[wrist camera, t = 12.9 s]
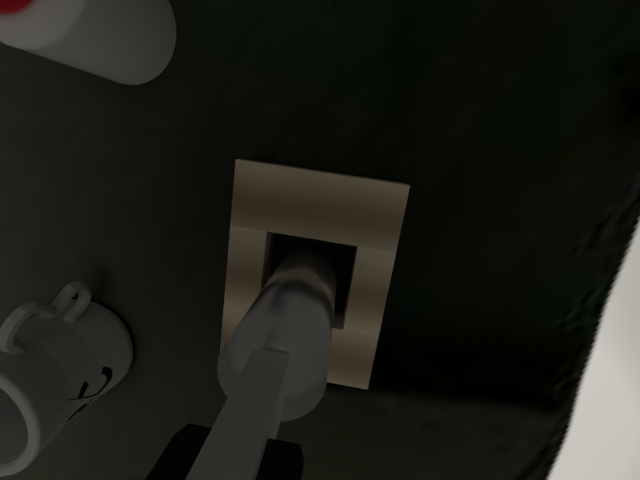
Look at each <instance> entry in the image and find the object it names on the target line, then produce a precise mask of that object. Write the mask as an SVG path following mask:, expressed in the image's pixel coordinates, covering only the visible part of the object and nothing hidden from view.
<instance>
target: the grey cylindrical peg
mask: <svg viewBox="0 0 640 480" xmlns="http://www.w3.org/2000/svg"><path fill="white" fill-rule="evenodd" d="M337 275H338V265H337V261H336V259H335V256H334V255H333V253H332V252H331V251H330V250H329V249H328V248H326V247H325V246H323V245H321V244H318V243H315V242H304V243H300V244H298V245H296V246H294V247H293V248H291V249H290V250H289V251H288V253H287V254H286V256H285V257H284V259H283V260H282V262H281V263H280V264H279V266H278V267H277V269H276V270H275V272H274V273H273V275H272V276H271V278H270V279H269V281H268V282H267V283H266V285H265V286H264V288H263V289H262V291H261V292H260V294H259V295H258V297H257V298H256V300H255V301H254V302H253V304H252V305H251V307H250V308H249V310H248V311H247V313H246V314H245V316H244V317H243V319H242V320H241V321H240V323H239V324H238V326H237V327H236V329H235V330H234V332H233V333H232V335H231V336H230V338H229V339H228V340H227V342H226V343H225V345H224V346H223V348H222V350H221V352H220V355H219V358H218V365H217V372H218V378H219V382H220V385H221V387H222V389H223V391H224V393H225V395H226V396H227V397H229V395H230V393H231V391H232V389H233V387H234V385H235V383H236V382H237V380H238V378H239V376H240V374H241V372H242V370H243V368H244V366H245V364H246V362H247V360H248V359H249V357H250V355H251V353H252V351H253V349H254V348H255V349H260V350H265V351H271V352H276V353H282V354H287V355H291V357H290V364H289V371H288V378H287V385H286V392H285V400H284V407H283V413H282V417H281V421H280V422H284V421H290V420H294V419H297V418H299V417H301V416H303V415H305V414H307V413H308V412H310V411H311V410H312V409H313V408H314V407H315V406H316V405H317V404H318V403H319V401H320V400H321V398H322V396H323V394H324V391H325V388H326V382H327V372H328V363H329V353H330V343H331V334H332V324H333V314H334V304H335V295H336V285H337Z"/></svg>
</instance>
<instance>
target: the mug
mask: <svg viewBox="0 0 640 480" xmlns="http://www.w3.org/2000/svg"><path fill="white" fill-rule="evenodd" d="M76 292H78V296H79V297H78V299H71V298H72V297H73V296H74V295H75V294H76ZM91 298H92V291H91V288H90V287H89V286H88V285H87V283H86V282H80V281H73V282H71V283H69V284H67V285H66V286H65V287H64V288H63V289H62V290H61V292H60V293H59V294H58V296H57V297H56V298H55V300H54V301H53V302H52V303H51V304H48V303H46V302H43V301H29V302H26V303H25V304H23V305H21V306H20V307H18V308H17V309H16V310H15V311H14V312H13V313H12V314H11V315H10V316H9V317H8V318H7V319H6V320H5V322H4V323H3V325H2V326H1V328H0V477H1V476H7V475H12V474H15V473H17V472H19V471H21V470H23V469H25V468H26V467H27V466H28V465H29V464H30V463H31V462H32V461H33V460H34V459H35V458H36V457H37V456H38V455H39V454H40V452H41V451H42V450H43V449H44V448H45V447H46V446H47V445H48V444H49V442H50V441H51V440H52V439H53V438H54V437H55V436H56V435H57V433H58V432H59V431H60V430H61V429H62V428H63V427H64V426H65V425H66V424H68V423H69V422H70V421H71V420H72V419H73V418H74V417H75V416H77V415H78V414H79V413H80V412H81V411H82V410H83V409H85V408H86V407H87V406H88V405H89V404H90V403H92V402H93V401H94V400H96V399H97V398H99V397H100V396H101V395H103V394H104V393H106V392H107V391H108V390H110V389H111V388H112V387H113V386H115V385H116V384H117V383H118V382H119V381H120V380H121V379H122V378H123V377H124V376H125V375H126V373H127V372H128V370H129V368H130V365H131V363H132V357H133V348H132V342H131V338H130V335H129V333H128V331H127V328H126V327H125V325H124V324H123V323H122V321H121V320H120V319H119V318H118V317H117V316H116V315H115V314H114V313H113V312H111V311H110V310H109V309H107V308H105V307H103V306H102V305H100V304H98V303H95V302H92V301H91ZM33 314H36V316H34V317H33V318H31V319H30V320H28V321H27V322H25V321H26V320H27V319H28V318H29V317H30V316H31V315H33ZM24 322H25V323H24ZM23 323H24V324H23Z"/></svg>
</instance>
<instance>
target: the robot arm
mask: <svg viewBox="0 0 640 480" xmlns="http://www.w3.org/2000/svg"><path fill="white" fill-rule="evenodd" d="M290 357H291V355H287V354H282V353H276V352H271V351H265V350H260V349H255V348H254V349H253V351H252V353H251V355H250V357H249V359H248V360H247V362H246V364H245V366H244V368H243V370H242V372H241V374H240V376H239V378H238V380H237V382H236V383H235V385H234V387H233V389H232V391H231V393H230V395H229V397H228V399H227V401H226V403H225V405H224V406H223V408H222V410H221V412H220V414H219V416H218V418H217V420H216V422H215V424H214V426H213V428H209V427H204V426H199V425H194V424H187V425H186V426H185V427H184V428H182V429H181V430H180V431H179V432H178V433H176V434H175V435H174V436H173V437H172V439H171V441H170V442H169V444H168V445H167V447H166V448H165V450H164V452H163V454H161V456H160V458H159V459H158V461H157V462H156V464H155V466H154V468H152V470H151V471H150V473H149V475H148V476H147V478H146V479H145V480H301V476H302V470H303V464H304V459H303V455H302V451H301V447H300V444H296V443H291V442H286V441H281V440H276V435H277V432H278V428H279V424H280V421H281V417H282V413H283V407H284V400H285V392H286V385H287V378H288V371H289V364H290Z"/></svg>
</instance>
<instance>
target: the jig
mask: <svg viewBox="0 0 640 480" xmlns="http://www.w3.org/2000/svg"><path fill="white" fill-rule="evenodd" d="M409 188H410V185H407V184H405V183H400V182H393V181H387V180H380V179H374V178H367V177H361V176H354V175H347V174H341V173H334V172H328V171H321V170H314V169H308V168H301V167H295V166H288V165H281V164H275V163H268V162H262V161H255V160H246V159H236V162H235V174H234V187H233V199H232V212H231V224H230V236H229V249H228V261H227V273H226V286H225V298H224V310H223V323H222V335H221V348H220V352H221V350H222V348H223V346H224V345H225V343H226V342H227V340H228V339H229V338H230V336H231V335H232V333H233V332H234V330H235V329H236V327H237V326H238V324H239V323H240V321H241V320H242V319H243V317H244V316H245V314H246V313H247V311H248V310H249V308H250V307H251V305H252V304H253V302H254V301H255V300H256V298H257V297H258V295H259V294H260V292H261V291H262V289H263V288H264V286H265V285H266V283H267V282H268V281H269V279H270V272H271V263H272V255H273V246H274V237H275V233H279V234H286V235H292V236H298V237H304V238H310V239H316V240H322V241H328V242H335V243H341V244H347V245H353V246H356V247H355V252H354V258H353V264H352V269H351V275H350V281H349V286H348V292H347V298H346V303H345V309H344V312H339V311H334V314H333V324H332V334H331V343H330V353H329V363H328V372H327V382H330V383H335V384H341V385H346V386H352V387H357V388H362V389H368V385H369V380H370V375H371V370H372V365H373V361H374V356H375V351H376V346H377V342H378V337H379V332H380V327H381V322H382V318H383V313H384V308H385V303H386V298H387V294H388V289H389V284H390V279H391V275H392V270H393V265H394V260H395V255H396V251H397V246H398V241H399V236H400V231H401V227H402V222H403V217H404V212H405V207H406V203H407V198H408V193H409Z"/></svg>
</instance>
